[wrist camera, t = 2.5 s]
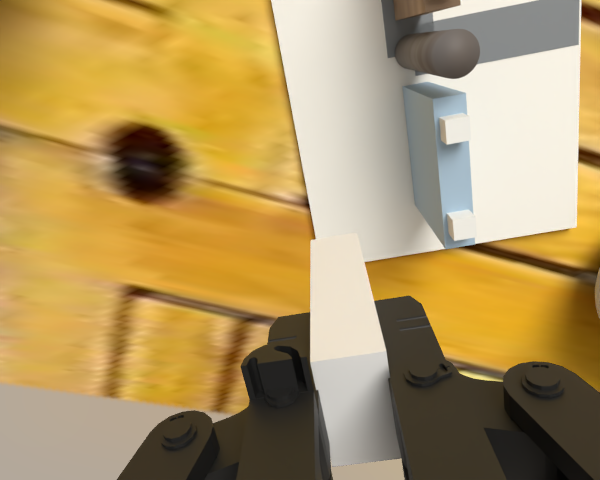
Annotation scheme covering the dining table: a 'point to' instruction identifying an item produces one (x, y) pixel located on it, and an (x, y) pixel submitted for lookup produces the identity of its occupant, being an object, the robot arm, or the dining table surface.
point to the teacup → (597, 293)
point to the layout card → (392, 121)
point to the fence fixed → (435, 43)
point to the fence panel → (441, 161)
